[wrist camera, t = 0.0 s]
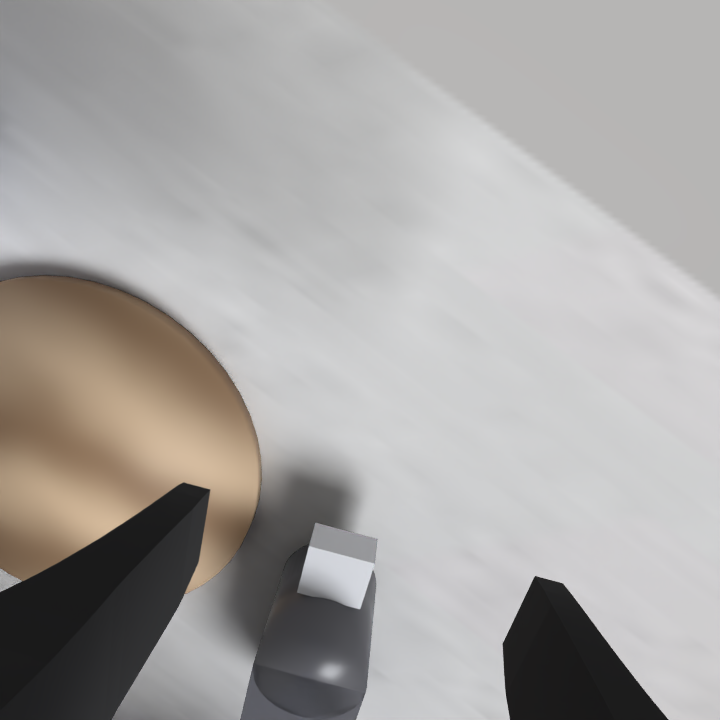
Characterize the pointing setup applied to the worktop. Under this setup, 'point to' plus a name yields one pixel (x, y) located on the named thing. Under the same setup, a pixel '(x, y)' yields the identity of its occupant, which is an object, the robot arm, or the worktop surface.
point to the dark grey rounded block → (317, 632)
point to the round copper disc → (112, 424)
